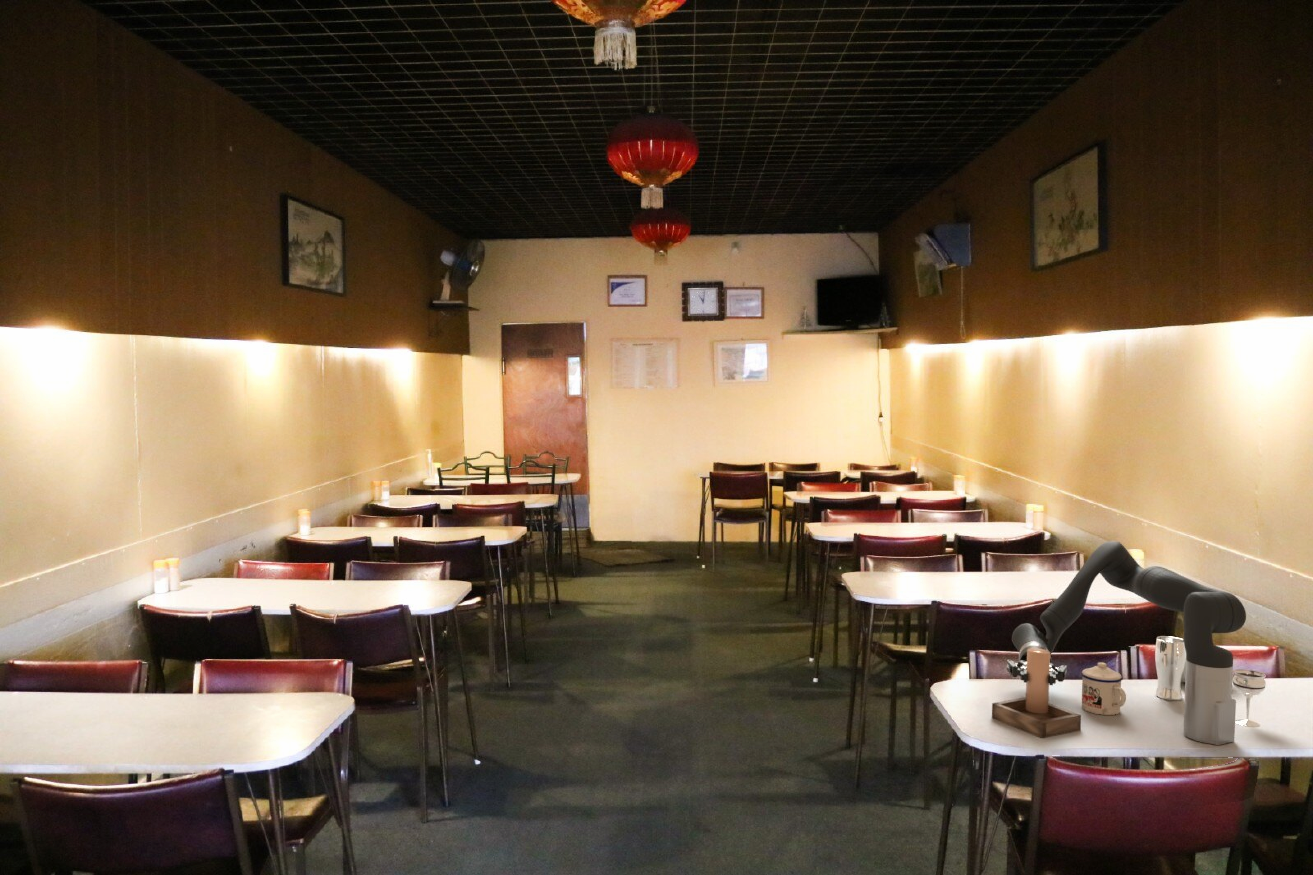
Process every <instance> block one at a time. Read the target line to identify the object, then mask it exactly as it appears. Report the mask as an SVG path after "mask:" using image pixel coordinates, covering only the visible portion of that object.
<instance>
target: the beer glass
mask: <svg viewBox="0 0 1313 875" xmlns="http://www.w3.org/2000/svg"><path fill="white" fill-rule="evenodd" d="M1154 659H1155V669H1156V674H1157V688H1156V691H1155V696H1156V697H1157V696H1158V697H1157V698H1159V699H1162V700H1166V701H1167V700H1168V701H1173V700H1177V701H1182V699H1183V694H1182V682H1181V681H1182V676H1183V672H1184V668H1185V662H1186V650H1185V645H1184V638H1181V637H1175V636H1169V635H1168V636H1166V635H1160V636H1157V637H1156V642H1155V652H1154Z"/></svg>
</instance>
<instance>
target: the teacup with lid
mask: <svg viewBox="0 0 1313 875" xmlns="http://www.w3.org/2000/svg"><path fill="white" fill-rule="evenodd" d="M1107 665H1108V664H1107V663H1105V662H1103V661H1102V662H1097V665H1095V666H1093V667H1089V668H1085V669H1083V670H1082V672H1081V677H1082V683H1081V685H1082V687H1081V707H1082V709H1083V710H1084V711H1086V712H1089V713H1090V714H1091V713H1092V714H1095V715H1099V714H1101V716H1115V714H1116V715H1118V714H1119V713H1121V707H1123V706H1124V705H1125V703H1126V701H1127V693H1126V692H1125V690H1124V689H1123V688H1122V680H1123V677H1122V675H1121V674H1120V673H1119V672H1118V671H1115V670H1113V669H1111V668H1110V667H1108V666H1107Z"/></svg>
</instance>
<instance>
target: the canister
mask: <svg viewBox="0 0 1313 875" xmlns="http://www.w3.org/2000/svg"><path fill="white" fill-rule="evenodd" d="M1050 656H1051V655H1050V652H1049V651H1047V650H1044V649H1037V648H1031V649H1028V650H1027V683H1025V697H1026V706H1025V709H1026V710H1027V711H1030V712H1033V713H1047V712H1048V703H1049V699H1050V698H1049V697H1050V696H1049V694H1050V685H1049V671H1050Z"/></svg>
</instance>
